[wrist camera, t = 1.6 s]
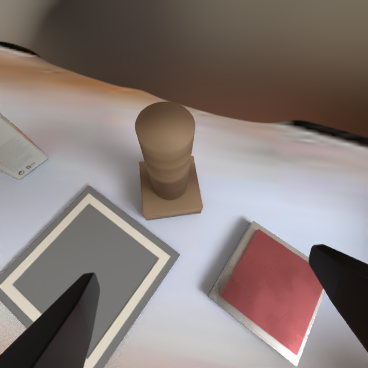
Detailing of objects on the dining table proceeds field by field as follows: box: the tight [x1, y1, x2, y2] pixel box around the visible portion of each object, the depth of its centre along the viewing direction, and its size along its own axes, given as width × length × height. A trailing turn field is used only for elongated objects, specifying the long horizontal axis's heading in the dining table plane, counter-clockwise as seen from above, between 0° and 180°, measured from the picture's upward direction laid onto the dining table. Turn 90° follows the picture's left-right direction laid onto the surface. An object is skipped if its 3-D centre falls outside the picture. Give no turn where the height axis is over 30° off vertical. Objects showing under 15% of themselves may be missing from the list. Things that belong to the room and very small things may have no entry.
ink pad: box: [208, 221, 325, 366], centre depth 19 cm, size 9×9×2 cm
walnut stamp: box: [135, 102, 203, 220], centre depth 18 cm, size 6×6×12 cm
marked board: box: [0, 186, 180, 368], centre depth 20 cm, size 13×13×1 cm
